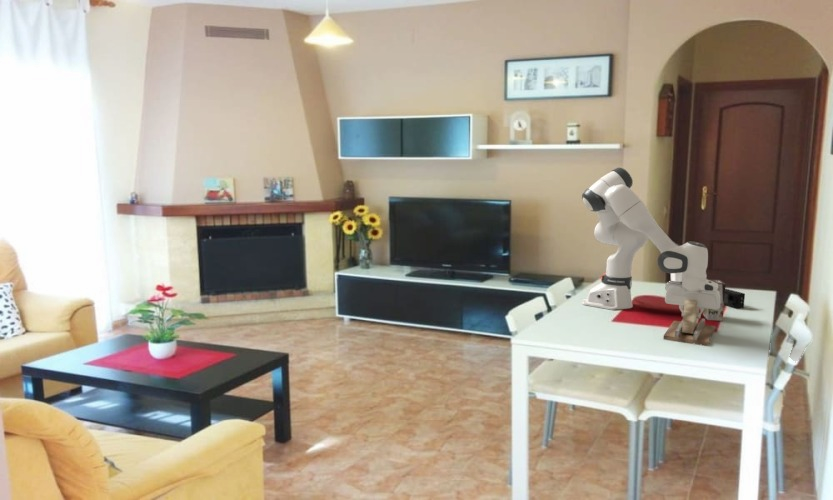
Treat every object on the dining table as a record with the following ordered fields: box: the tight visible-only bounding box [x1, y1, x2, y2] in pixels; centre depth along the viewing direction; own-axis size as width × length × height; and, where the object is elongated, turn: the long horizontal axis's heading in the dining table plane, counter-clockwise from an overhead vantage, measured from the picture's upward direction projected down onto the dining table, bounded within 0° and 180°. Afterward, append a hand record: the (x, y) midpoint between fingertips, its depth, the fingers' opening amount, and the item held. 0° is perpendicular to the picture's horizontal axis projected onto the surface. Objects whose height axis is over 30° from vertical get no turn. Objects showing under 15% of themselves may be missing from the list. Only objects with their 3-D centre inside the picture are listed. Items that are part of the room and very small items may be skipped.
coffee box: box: [702, 279, 727, 322], centre depth 286 cm, size 9×6×16 cm
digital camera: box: [724, 288, 746, 310], centre depth 307 cm, size 10×5×7 cm, turn 23°
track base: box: [662, 318, 716, 346], centre depth 263 cm, size 16×24×4 cm, turn 150°
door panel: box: [682, 299, 700, 334], centre depth 262 cm, size 4×14×12 cm, turn 150°
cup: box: [670, 273, 682, 282], centre depth 341 cm, size 10×10×13 cm
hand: (691, 317), depth 263 cm, fingers closed on door panel, 4 cm apart
